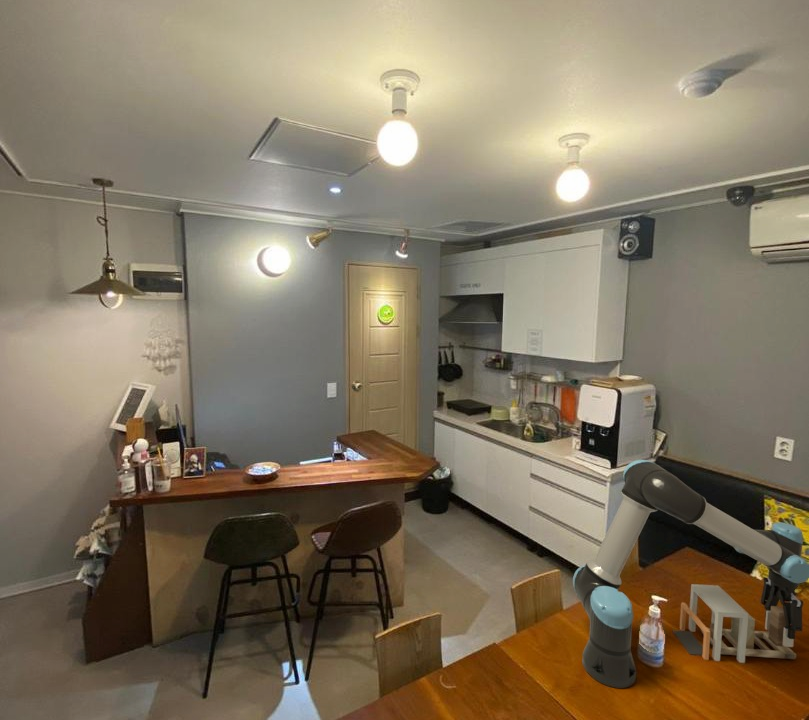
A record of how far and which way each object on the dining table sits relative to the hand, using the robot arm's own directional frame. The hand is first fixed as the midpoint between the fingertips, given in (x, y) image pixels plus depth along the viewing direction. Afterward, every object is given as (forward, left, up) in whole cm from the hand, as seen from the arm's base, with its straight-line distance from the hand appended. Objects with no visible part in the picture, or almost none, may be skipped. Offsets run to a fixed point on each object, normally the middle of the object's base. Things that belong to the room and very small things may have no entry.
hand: (778, 637), depth 144 cm
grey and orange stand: (-21, 0, -4) cm, 22 cm away
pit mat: (-28, 0, -4) cm, 28 cm away
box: (-11, 0, -4) cm, 12 cm away
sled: (-10, 0, -4) cm, 11 cm away
